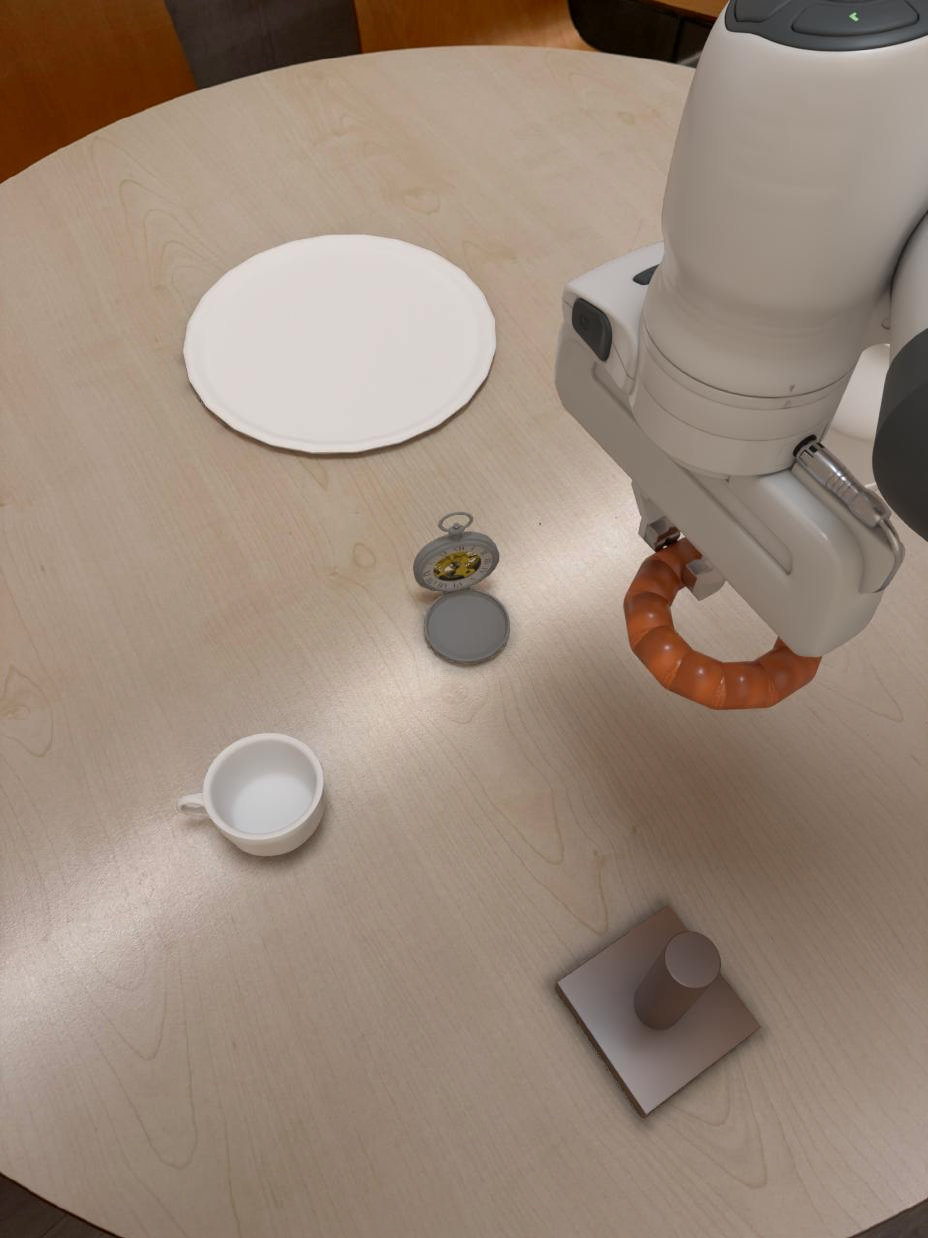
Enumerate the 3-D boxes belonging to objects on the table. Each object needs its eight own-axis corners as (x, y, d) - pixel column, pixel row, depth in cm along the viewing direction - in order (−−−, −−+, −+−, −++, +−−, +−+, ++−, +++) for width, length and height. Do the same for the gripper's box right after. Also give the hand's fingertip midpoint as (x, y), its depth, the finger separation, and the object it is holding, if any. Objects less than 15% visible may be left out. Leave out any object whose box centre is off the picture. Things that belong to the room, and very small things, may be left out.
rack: (755, 1031, 64) (814, 985, 54) (642, 1118, 61) (681, 1087, 51) (664, 911, 68) (702, 846, 58) (554, 987, 65) (573, 934, 55)
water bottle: (740, 553, 84) (836, 313, 63) (778, 497, 87) (882, 250, 66) (822, 595, 82) (949, 361, 61) (858, 536, 85) (991, 294, 64)
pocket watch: (469, 683, 77) (471, 611, 69) (390, 619, 80) (382, 542, 72) (540, 616, 80) (549, 539, 72) (461, 557, 83) (461, 476, 75)
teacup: (329, 759, 74) (320, 725, 69) (334, 862, 70) (326, 834, 65) (188, 773, 73) (171, 741, 69) (185, 878, 69) (166, 851, 64)
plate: (239, 502, 86) (237, 493, 85) (149, 288, 100) (146, 278, 99) (549, 400, 93) (550, 390, 92) (424, 212, 107) (423, 202, 106)
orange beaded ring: (860, 656, 54) (876, 631, 52) (708, 753, 51) (719, 731, 49) (729, 524, 59) (739, 497, 57) (583, 606, 56) (588, 580, 53)
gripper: (975, 503, 40) (858, 677, 51) (649, 219, 49) (613, 421, 61) (855, 575, 38) (762, 738, 50) (540, 266, 47) (524, 465, 59)
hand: (678, 562), depth 55 cm, fingers closed on orange beaded ring, 2 cm apart
